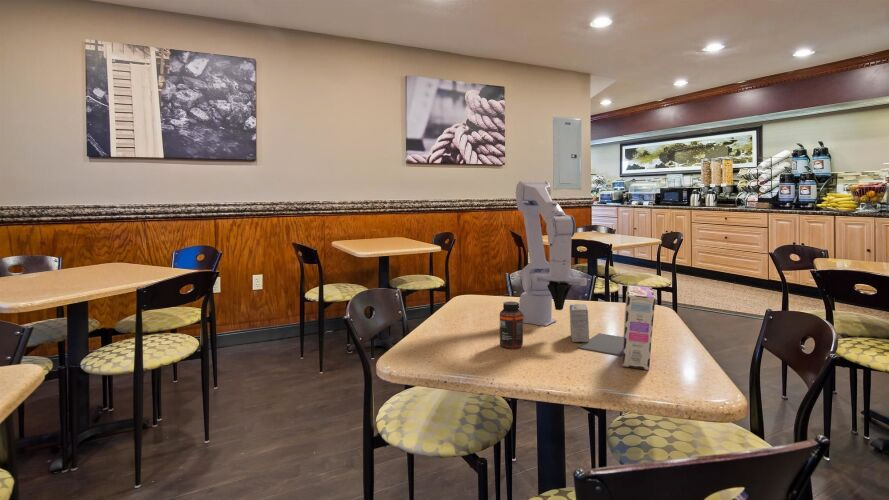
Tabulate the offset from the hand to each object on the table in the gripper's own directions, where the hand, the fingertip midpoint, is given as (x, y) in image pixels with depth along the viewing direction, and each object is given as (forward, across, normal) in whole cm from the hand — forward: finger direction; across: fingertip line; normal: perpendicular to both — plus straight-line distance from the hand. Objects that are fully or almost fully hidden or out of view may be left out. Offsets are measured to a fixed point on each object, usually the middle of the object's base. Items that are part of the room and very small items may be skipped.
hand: (559, 309), depth 136 cm
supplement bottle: (+8, -6, -16) cm, 19 cm away
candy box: (+7, +23, -9) cm, 26 cm away
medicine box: (+7, +6, 0) cm, 10 cm away
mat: (+7, +14, 0) cm, 16 cm away
